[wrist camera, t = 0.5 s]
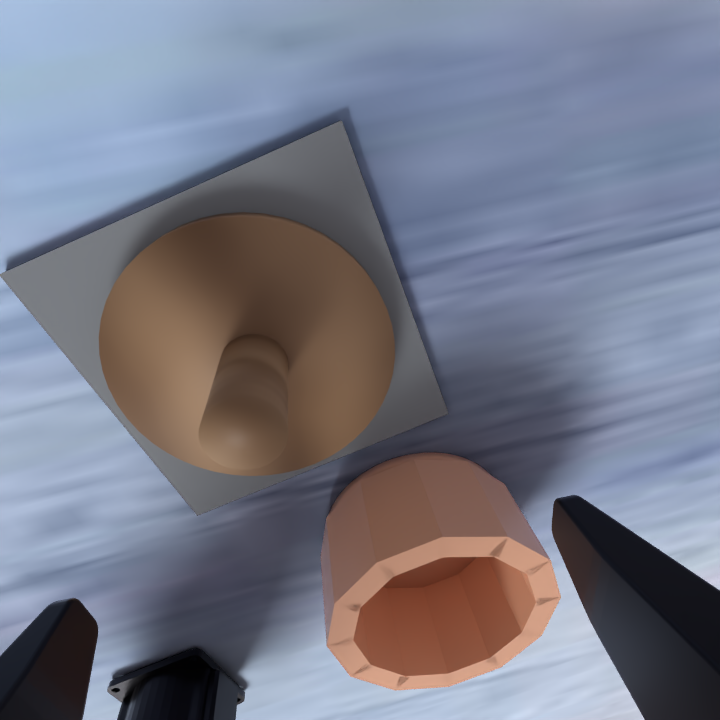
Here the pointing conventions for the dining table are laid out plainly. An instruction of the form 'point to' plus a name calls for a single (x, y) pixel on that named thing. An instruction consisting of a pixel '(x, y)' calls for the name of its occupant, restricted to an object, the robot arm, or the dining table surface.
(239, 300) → the lid
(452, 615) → the bowl
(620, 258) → the dining table surface
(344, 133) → the mat
